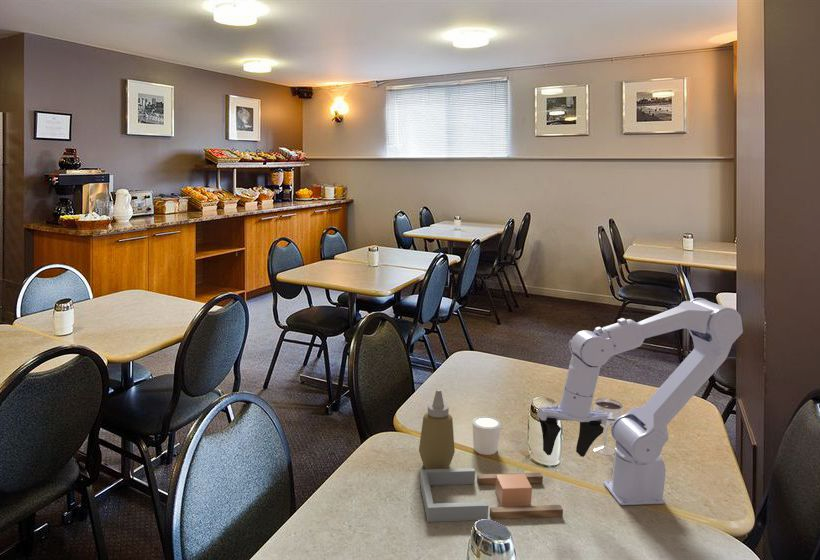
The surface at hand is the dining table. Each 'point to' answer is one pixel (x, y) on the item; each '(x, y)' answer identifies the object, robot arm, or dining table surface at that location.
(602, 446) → the wineglass
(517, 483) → the block
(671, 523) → the dining table surface
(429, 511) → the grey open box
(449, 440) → the squeeze bottle
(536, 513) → the channel
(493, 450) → the white cup
